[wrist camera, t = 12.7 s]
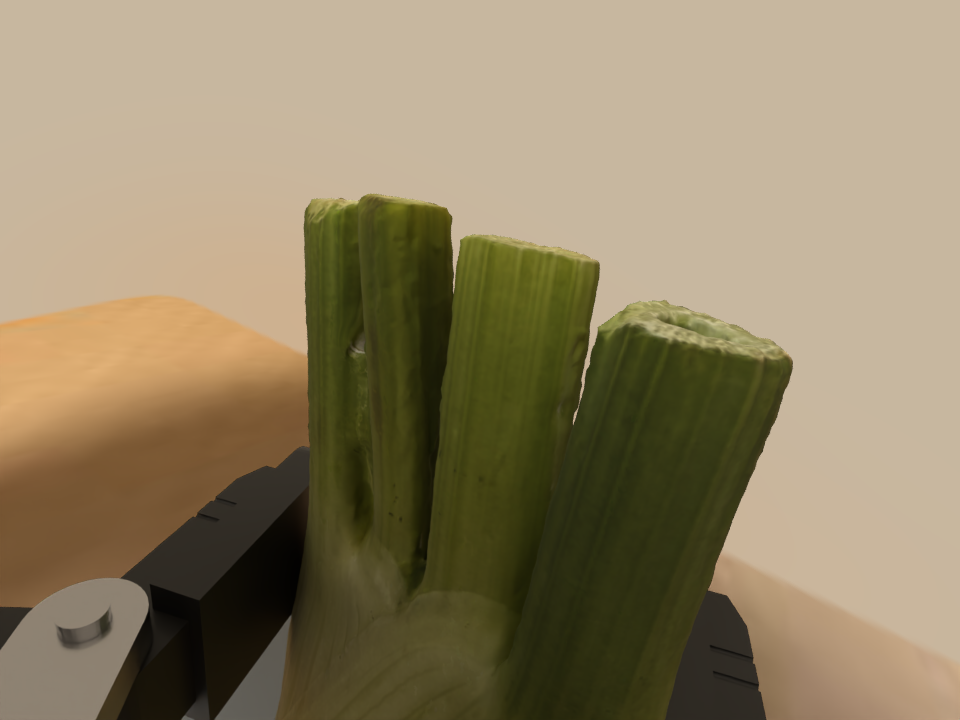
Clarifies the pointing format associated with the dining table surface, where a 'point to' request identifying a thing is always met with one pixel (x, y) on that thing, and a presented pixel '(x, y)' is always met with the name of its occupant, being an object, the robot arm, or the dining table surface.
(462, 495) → the fennel bulb
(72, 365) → the dining table surface
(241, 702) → the slate board
